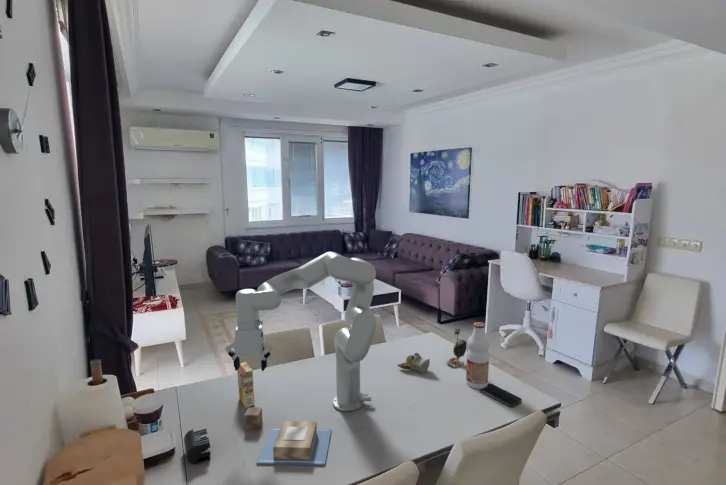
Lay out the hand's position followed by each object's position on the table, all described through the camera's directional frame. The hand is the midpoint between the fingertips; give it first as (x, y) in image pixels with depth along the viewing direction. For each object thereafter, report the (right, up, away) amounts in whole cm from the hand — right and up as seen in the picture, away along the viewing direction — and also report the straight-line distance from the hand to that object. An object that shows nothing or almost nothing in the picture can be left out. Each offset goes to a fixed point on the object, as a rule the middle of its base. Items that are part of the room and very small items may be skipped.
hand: (250, 369), depth 144 cm
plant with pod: (+87, -14, +53) cm, 103 cm away
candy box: (-7, -20, +19) cm, 29 cm away
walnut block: (0, -22, +3) cm, 22 cm away
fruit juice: (+91, -17, +33) cm, 99 cm away
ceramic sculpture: (+66, -15, +47) cm, 82 cm away
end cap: (-14, -25, -12) cm, 31 cm away
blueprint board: (+18, -24, -8) cm, 31 cm away
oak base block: (+18, -24, -8) cm, 31 cm away
